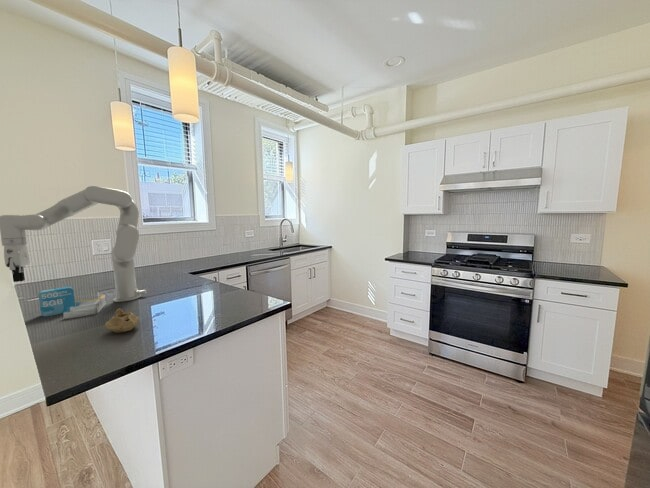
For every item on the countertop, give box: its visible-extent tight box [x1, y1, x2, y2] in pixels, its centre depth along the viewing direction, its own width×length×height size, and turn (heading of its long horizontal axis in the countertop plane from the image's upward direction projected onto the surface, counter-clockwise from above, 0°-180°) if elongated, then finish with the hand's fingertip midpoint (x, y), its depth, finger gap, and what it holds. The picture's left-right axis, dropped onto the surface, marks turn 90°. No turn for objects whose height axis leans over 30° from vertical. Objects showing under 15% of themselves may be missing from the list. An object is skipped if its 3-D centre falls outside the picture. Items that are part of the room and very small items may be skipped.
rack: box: [62, 293, 107, 320], centre depth 134 cm, size 12×18×5 cm, turn 29°
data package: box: [37, 286, 76, 317], centre depth 132 cm, size 12×4×12 cm, turn 138°
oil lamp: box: [104, 307, 140, 334], centre depth 108 cm, size 11×15×8 cm
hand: (19, 281), depth 125 cm, fingers closed
